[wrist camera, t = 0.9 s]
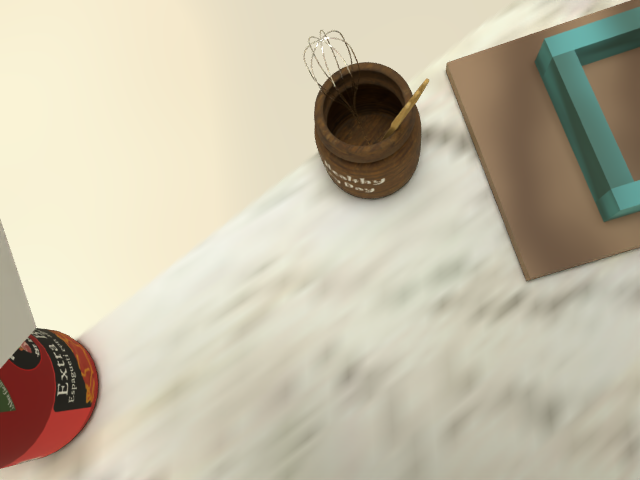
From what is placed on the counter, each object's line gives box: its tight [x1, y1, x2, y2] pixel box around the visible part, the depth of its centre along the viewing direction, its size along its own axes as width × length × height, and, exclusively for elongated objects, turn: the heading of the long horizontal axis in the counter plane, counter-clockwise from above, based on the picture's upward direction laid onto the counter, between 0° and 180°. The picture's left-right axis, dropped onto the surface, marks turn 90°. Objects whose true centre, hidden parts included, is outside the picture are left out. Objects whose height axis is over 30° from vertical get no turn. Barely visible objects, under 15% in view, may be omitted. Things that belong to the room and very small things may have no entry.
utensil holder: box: [303, 30, 429, 198], centre depth 29 cm, size 6×6×12 cm
